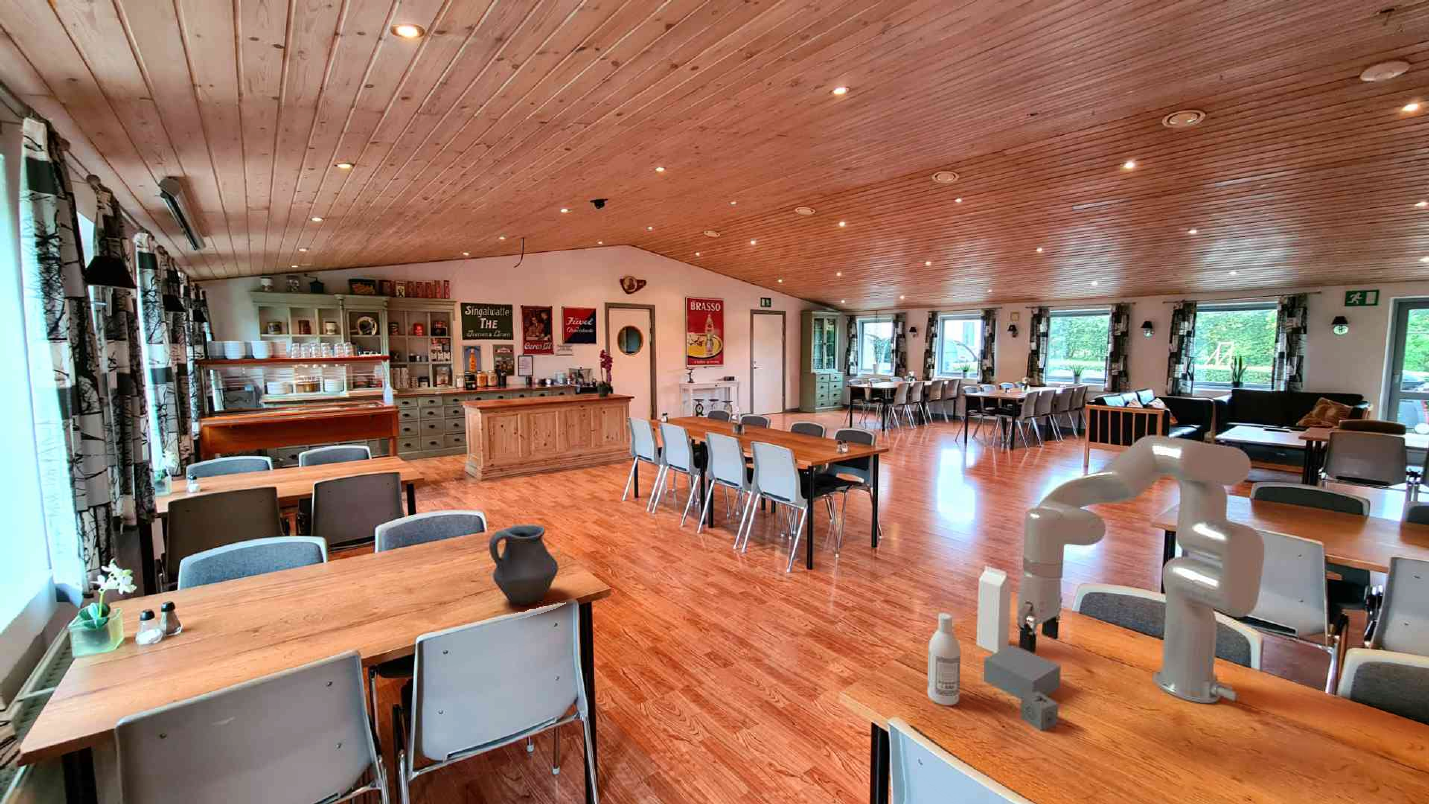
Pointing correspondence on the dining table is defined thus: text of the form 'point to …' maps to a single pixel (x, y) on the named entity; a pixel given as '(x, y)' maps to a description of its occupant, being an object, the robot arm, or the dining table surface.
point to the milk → (993, 610)
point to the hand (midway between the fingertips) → (1038, 643)
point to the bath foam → (944, 664)
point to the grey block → (1021, 672)
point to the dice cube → (1039, 710)
